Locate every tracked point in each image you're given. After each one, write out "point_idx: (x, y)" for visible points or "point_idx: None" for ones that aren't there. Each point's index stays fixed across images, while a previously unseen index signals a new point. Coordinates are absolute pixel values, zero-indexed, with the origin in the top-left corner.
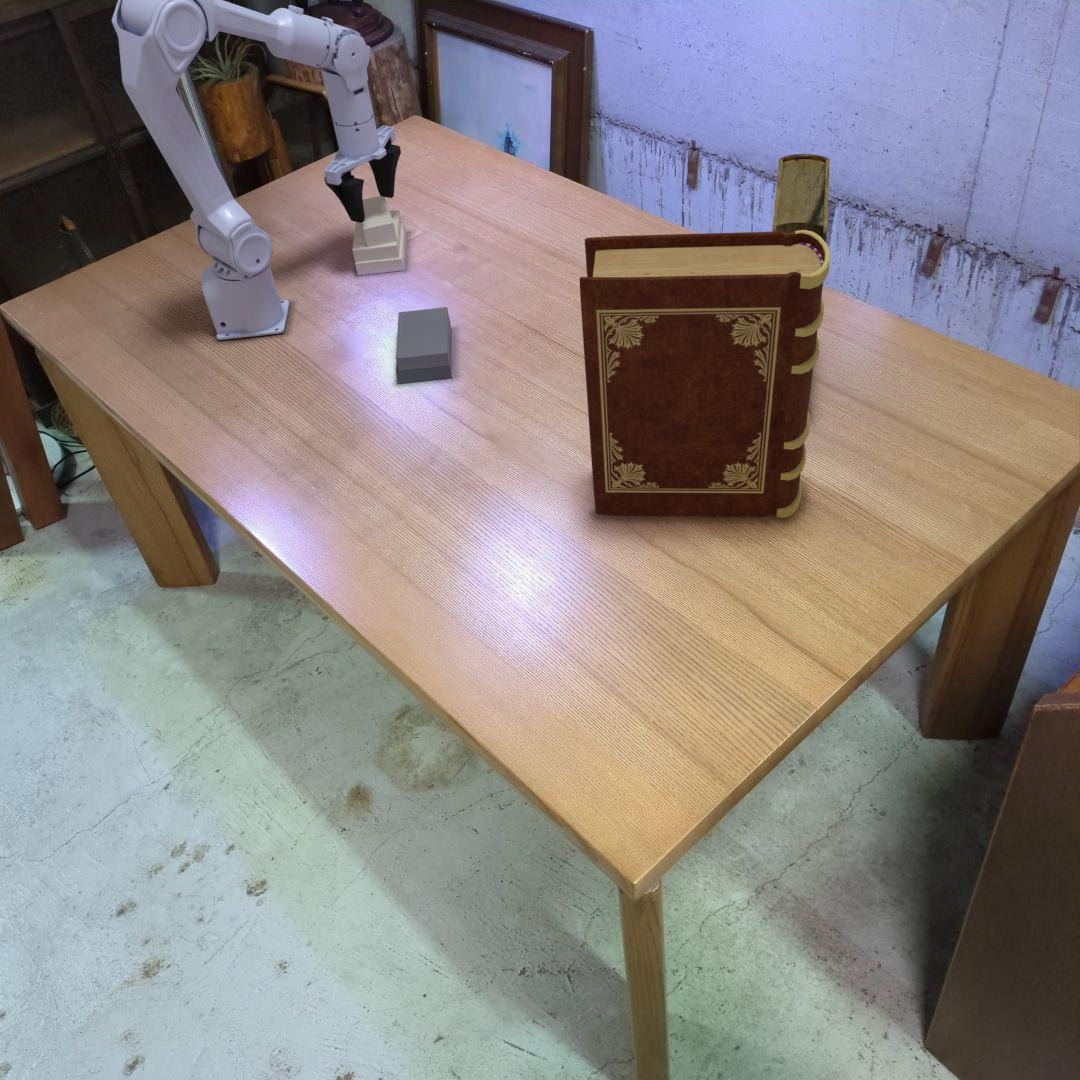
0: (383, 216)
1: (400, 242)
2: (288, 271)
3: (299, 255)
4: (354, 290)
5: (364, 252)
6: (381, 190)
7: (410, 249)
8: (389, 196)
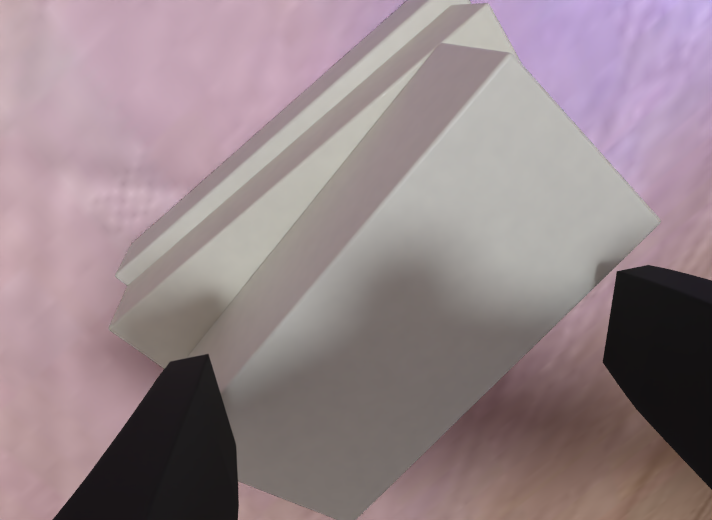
0: (451, 218)
1: (307, 127)
2: (584, 409)
3: (488, 453)
4: (650, 101)
5: None
6: (230, 473)
7: (237, 110)
8: (210, 379)
